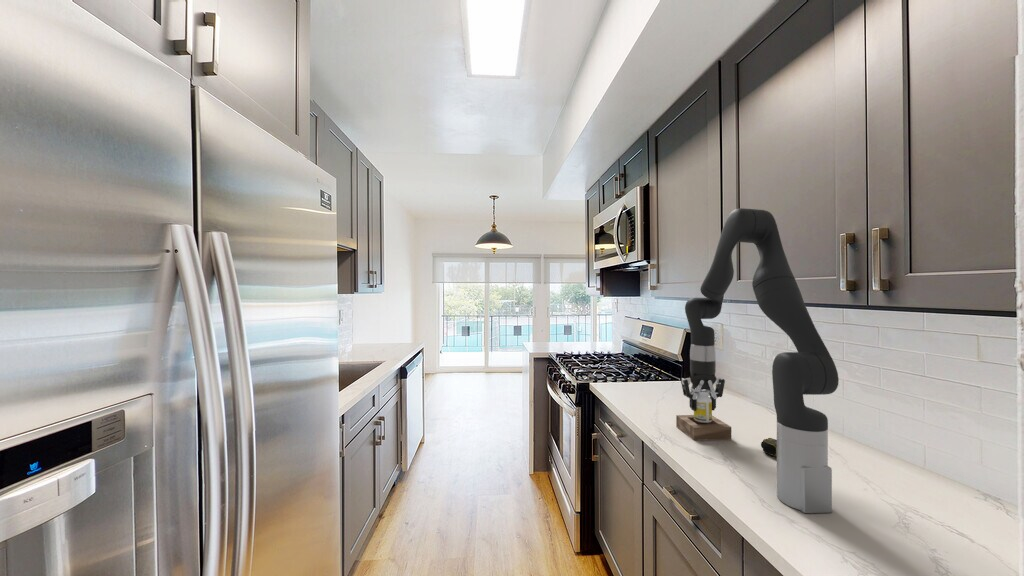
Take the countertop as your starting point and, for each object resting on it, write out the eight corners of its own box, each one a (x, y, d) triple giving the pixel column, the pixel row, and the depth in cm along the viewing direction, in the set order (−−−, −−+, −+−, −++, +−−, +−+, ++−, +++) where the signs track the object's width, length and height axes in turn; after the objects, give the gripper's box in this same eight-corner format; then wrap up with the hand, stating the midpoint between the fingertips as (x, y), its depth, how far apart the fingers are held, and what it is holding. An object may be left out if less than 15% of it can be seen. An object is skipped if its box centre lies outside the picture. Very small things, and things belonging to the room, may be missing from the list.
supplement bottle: (706, 417, 134) (705, 388, 134) (715, 423, 128) (715, 392, 128) (690, 417, 133) (690, 388, 133) (699, 423, 128) (699, 392, 128)
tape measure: (795, 457, 113) (795, 443, 113) (781, 462, 109) (781, 448, 109) (770, 448, 119) (770, 435, 119) (756, 452, 115) (756, 440, 115)
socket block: (731, 439, 125) (731, 426, 125) (694, 440, 124) (693, 427, 124) (710, 426, 137) (710, 414, 137) (676, 426, 136) (676, 415, 136)
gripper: (686, 360, 127) (686, 414, 127) (730, 360, 127) (730, 413, 127) (675, 356, 134) (676, 406, 134) (717, 356, 135) (717, 406, 135)
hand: (702, 409), depth 131 cm, fingers closed on supplement bottle, 5 cm apart
